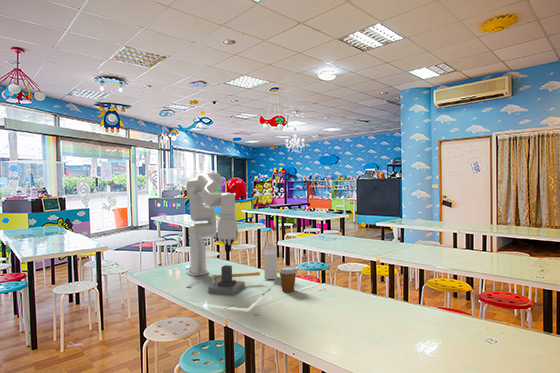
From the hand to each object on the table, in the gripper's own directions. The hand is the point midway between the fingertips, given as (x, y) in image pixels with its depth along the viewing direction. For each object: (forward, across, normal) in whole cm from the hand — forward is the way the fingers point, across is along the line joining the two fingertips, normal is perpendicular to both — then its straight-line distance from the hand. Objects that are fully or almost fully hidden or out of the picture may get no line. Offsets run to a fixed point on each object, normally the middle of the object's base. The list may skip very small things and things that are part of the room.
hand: (228, 252), depth 169 cm
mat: (+21, -18, +8) cm, 29 cm away
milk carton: (+21, +14, +29) cm, 39 cm away
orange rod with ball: (+15, +1, +8) cm, 17 cm away
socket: (+21, -2, -1) cm, 21 cm away
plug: (+20, -1, -1) cm, 20 cm away
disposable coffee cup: (+21, +30, +9) cm, 38 cm away
